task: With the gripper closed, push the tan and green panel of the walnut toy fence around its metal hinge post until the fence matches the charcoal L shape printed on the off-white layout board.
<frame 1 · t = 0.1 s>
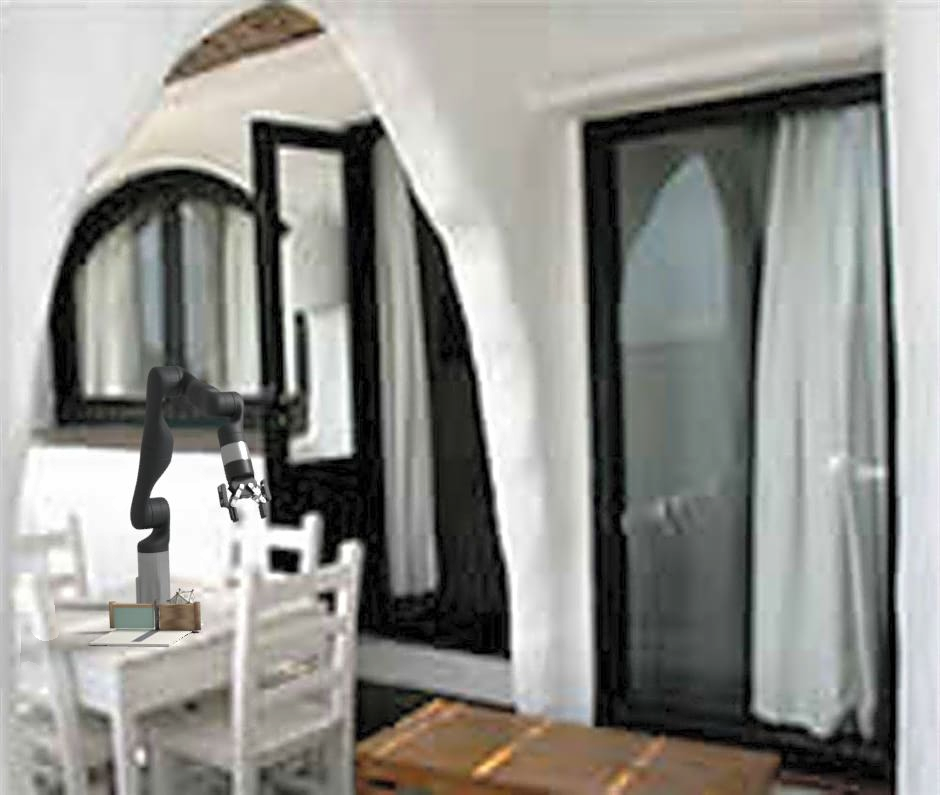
hand: (250, 519, 310), 31 cm above the table, tool tilted 20°, fingers open, 8 cm apart
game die: (184, 617, 339), on the table
layout board: (147, 635, 317), on the table
fixed fence section: (157, 631, 320), resting on layout board
tan and green panel: (131, 615, 321), point 5 cm above the table, hinge at 0.0°
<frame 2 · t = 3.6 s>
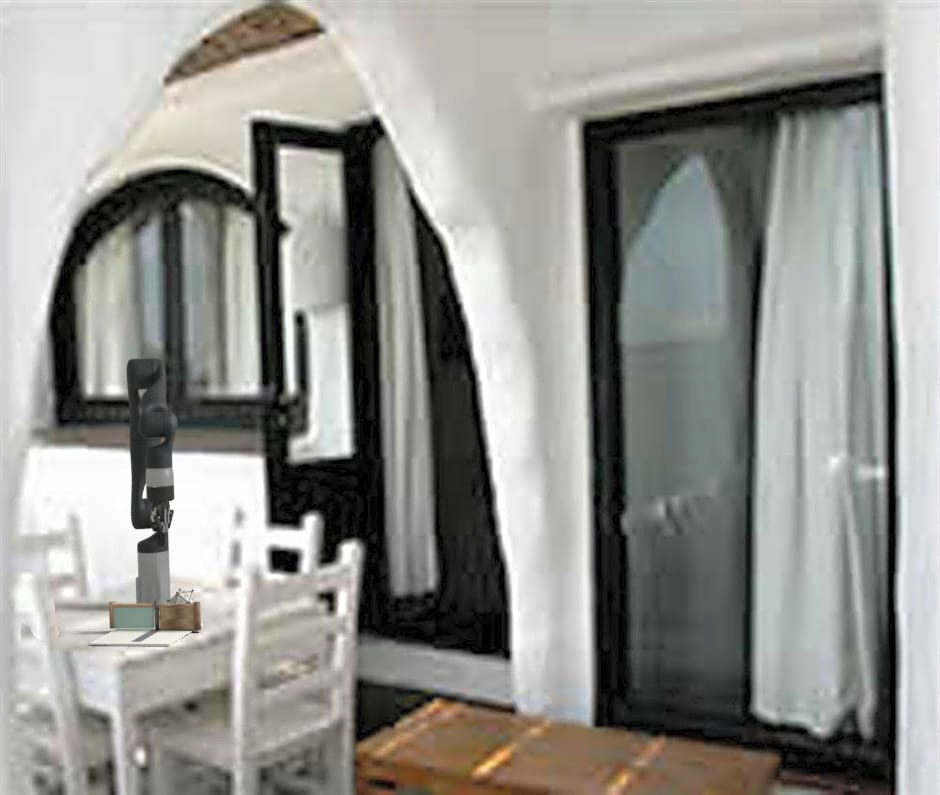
hand: (162, 545, 325), 23 cm above the table, tool pointing down, fingers closed
nothing on the table moved.
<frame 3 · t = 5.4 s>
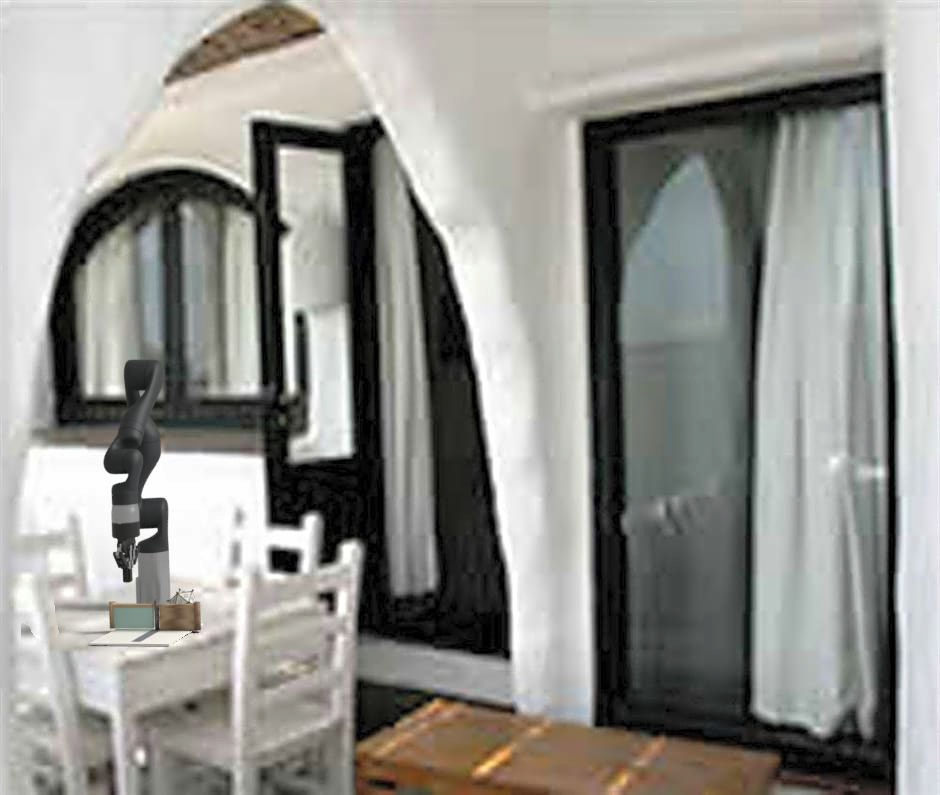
hand: (127, 582, 326), 13 cm above the table, tool pointing down, fingers closed
nothing on the table moved.
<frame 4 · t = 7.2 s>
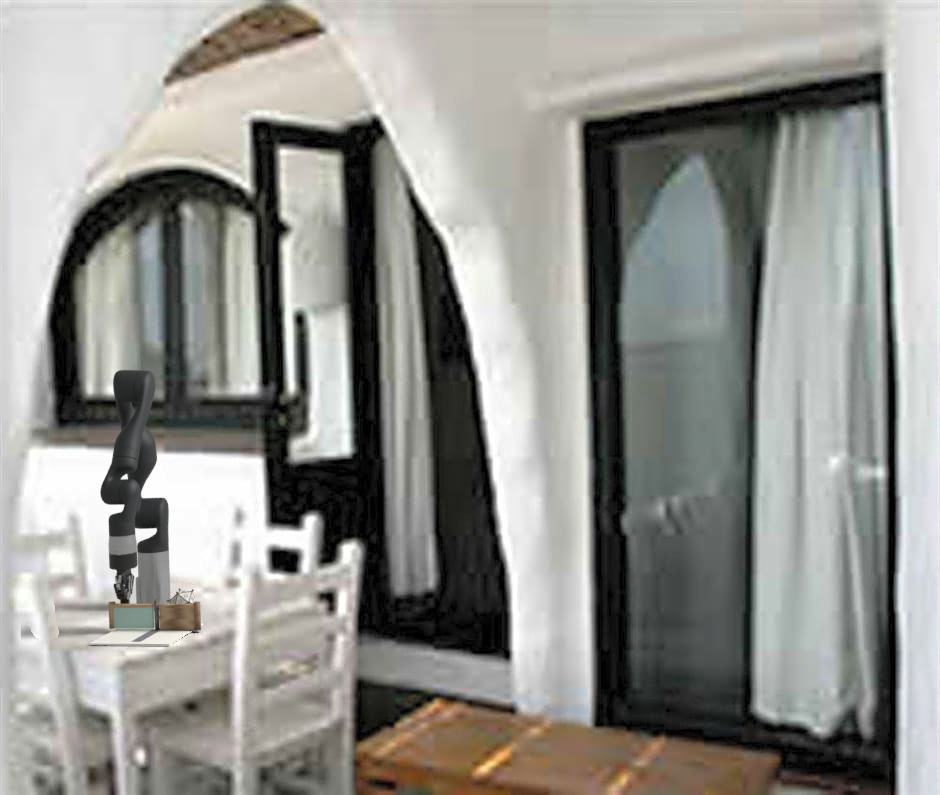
hand: (125, 612, 325), 5 cm above the table, tool pointing down, fingers closed
tan and green panel: (131, 615, 321), point 5 cm above the table, hinge at 1.0°, touching gripper
everything else where it was.
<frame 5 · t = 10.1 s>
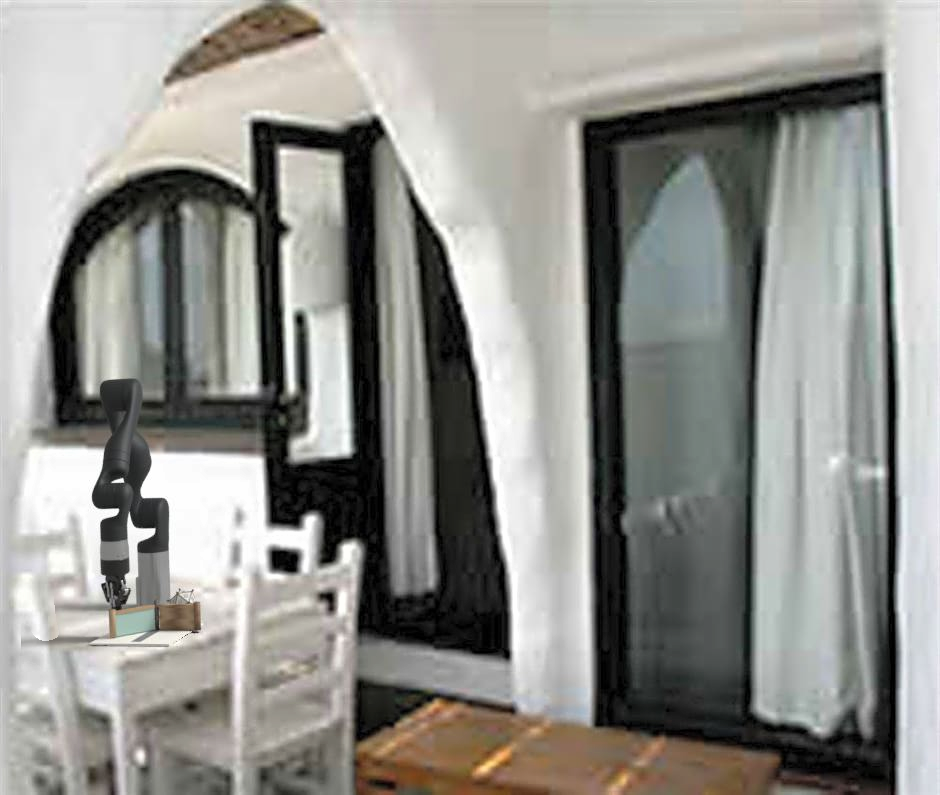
hand: (116, 619, 316), 5 cm above the table, tool pointing down, fingers closed
tan and green panel: (131, 619, 315), point 5 cm above the table, hinge at 50.3°, touching gripper
everything else where it was.
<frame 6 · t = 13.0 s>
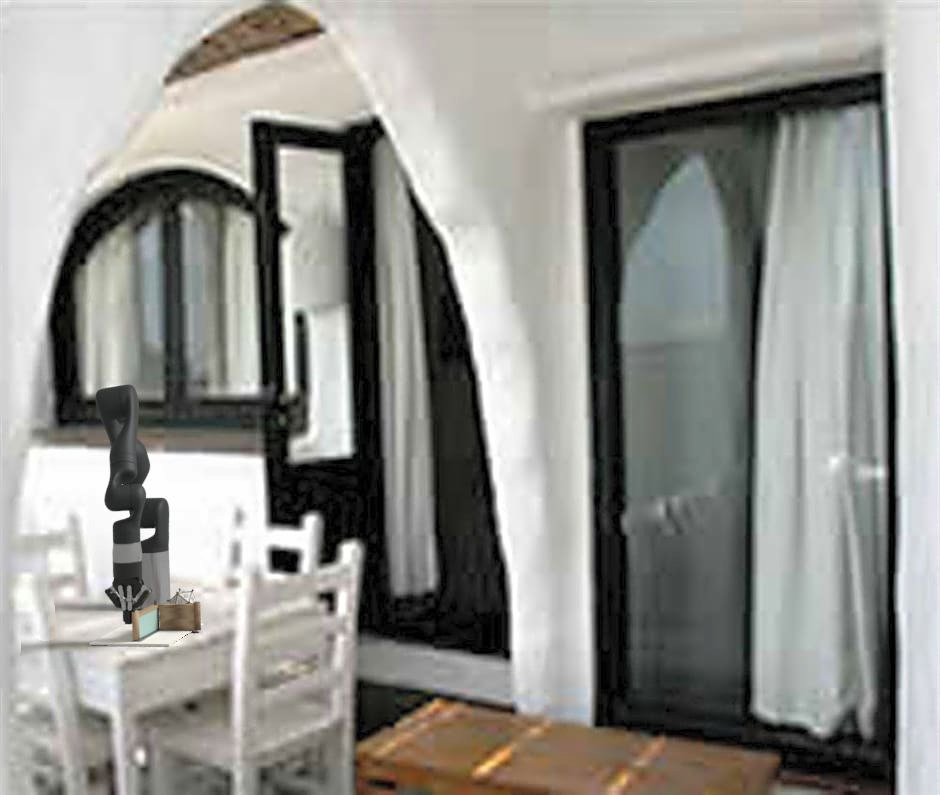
hand: (129, 623, 311), 5 cm above the table, tool pointing down, fingers closed
tan and green panel: (145, 621, 313), point 5 cm above the table, hinge at 88.5°, touching gripper
everything else where it was.
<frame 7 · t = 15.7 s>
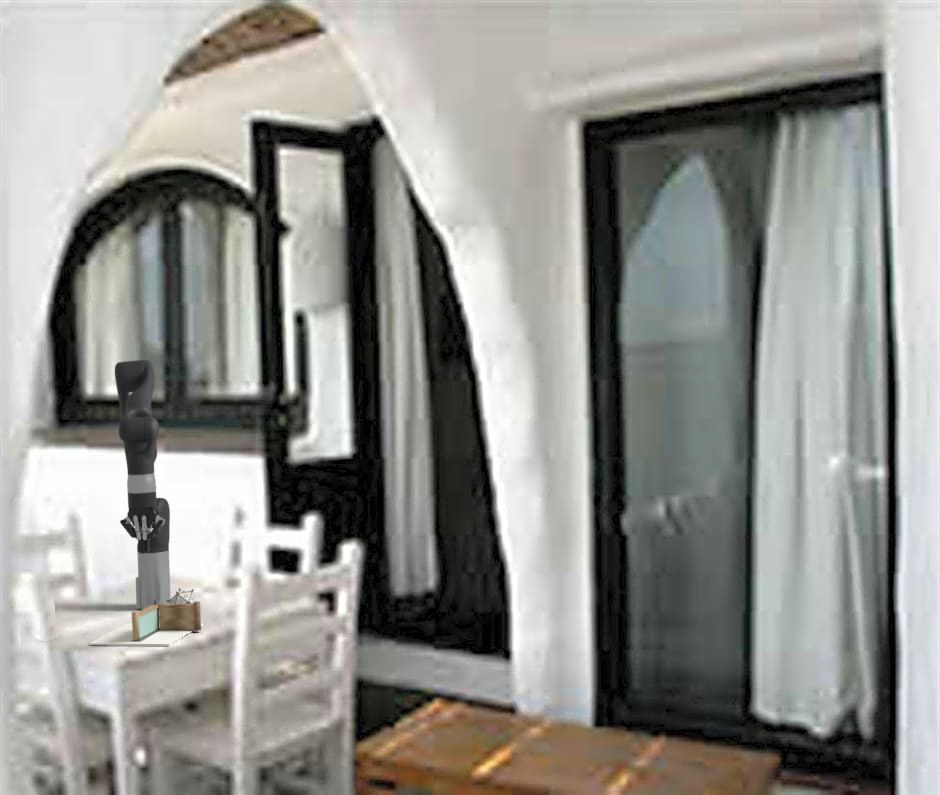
hand: (144, 553, 319), 22 cm above the table, tool pointing down, fingers closed
tan and green panel: (145, 621, 313), point 5 cm above the table, hinge at 88.6°
everything else where it was.
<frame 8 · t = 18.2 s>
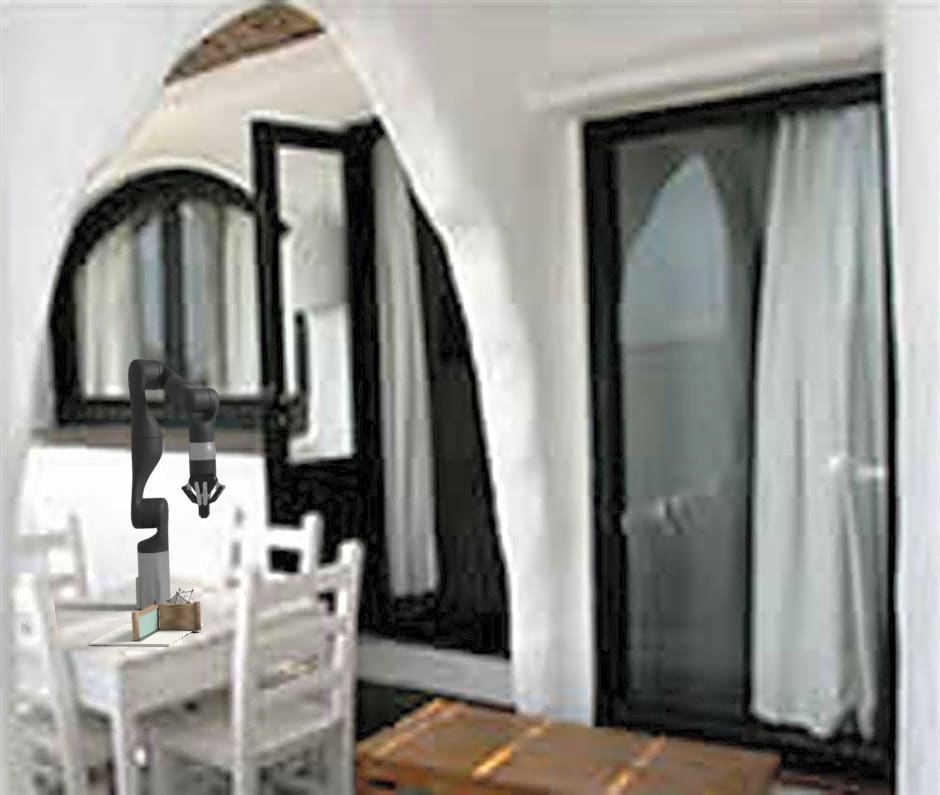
hand: (204, 517, 335), 29 cm above the table, tool pointing down, fingers closed
nothing on the table moved.
at the end: tan and green panel at +89° (first picture: +0°); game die moved 0.2 cm from its start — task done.
